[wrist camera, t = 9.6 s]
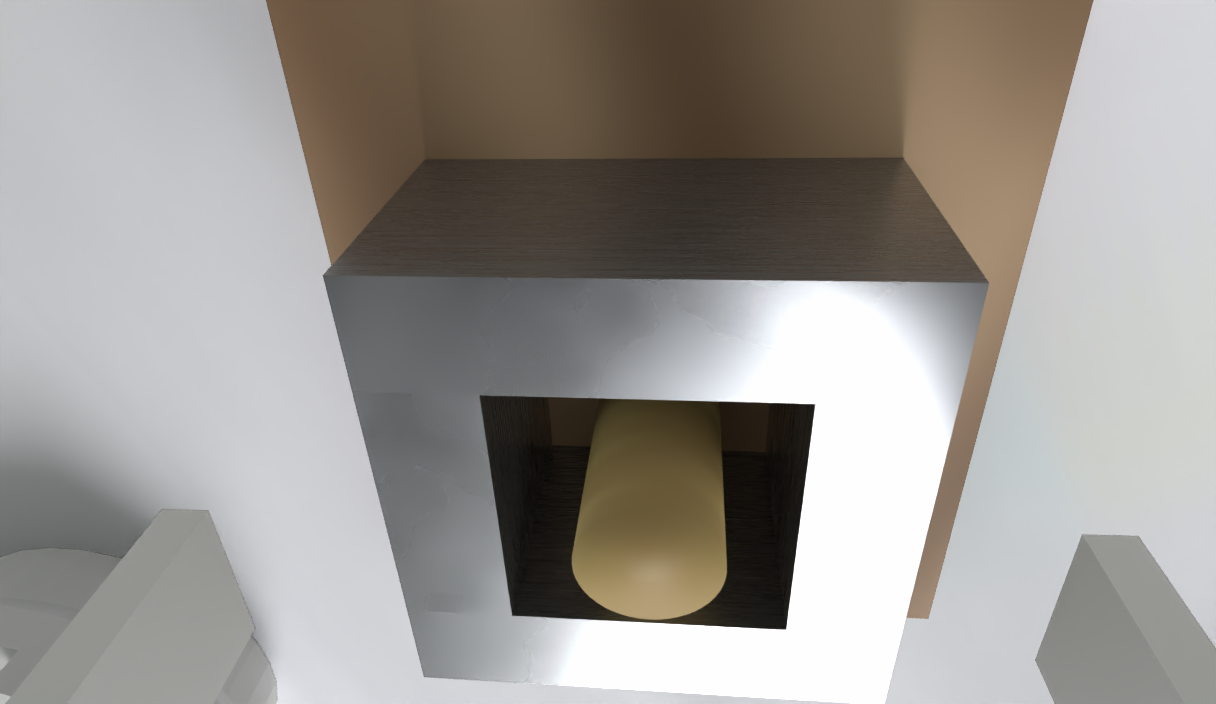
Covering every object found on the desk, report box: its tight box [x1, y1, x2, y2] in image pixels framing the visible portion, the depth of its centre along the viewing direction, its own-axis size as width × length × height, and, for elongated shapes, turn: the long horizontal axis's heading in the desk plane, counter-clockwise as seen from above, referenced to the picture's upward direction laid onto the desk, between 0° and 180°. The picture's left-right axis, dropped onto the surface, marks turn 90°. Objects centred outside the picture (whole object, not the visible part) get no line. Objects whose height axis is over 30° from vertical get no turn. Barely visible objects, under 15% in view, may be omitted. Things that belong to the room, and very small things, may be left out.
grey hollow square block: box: [323, 158, 989, 704], centre depth 15 cm, size 9×9×5 cm
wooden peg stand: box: [266, 0, 1093, 620], centre depth 15 cm, size 14×16×8 cm
